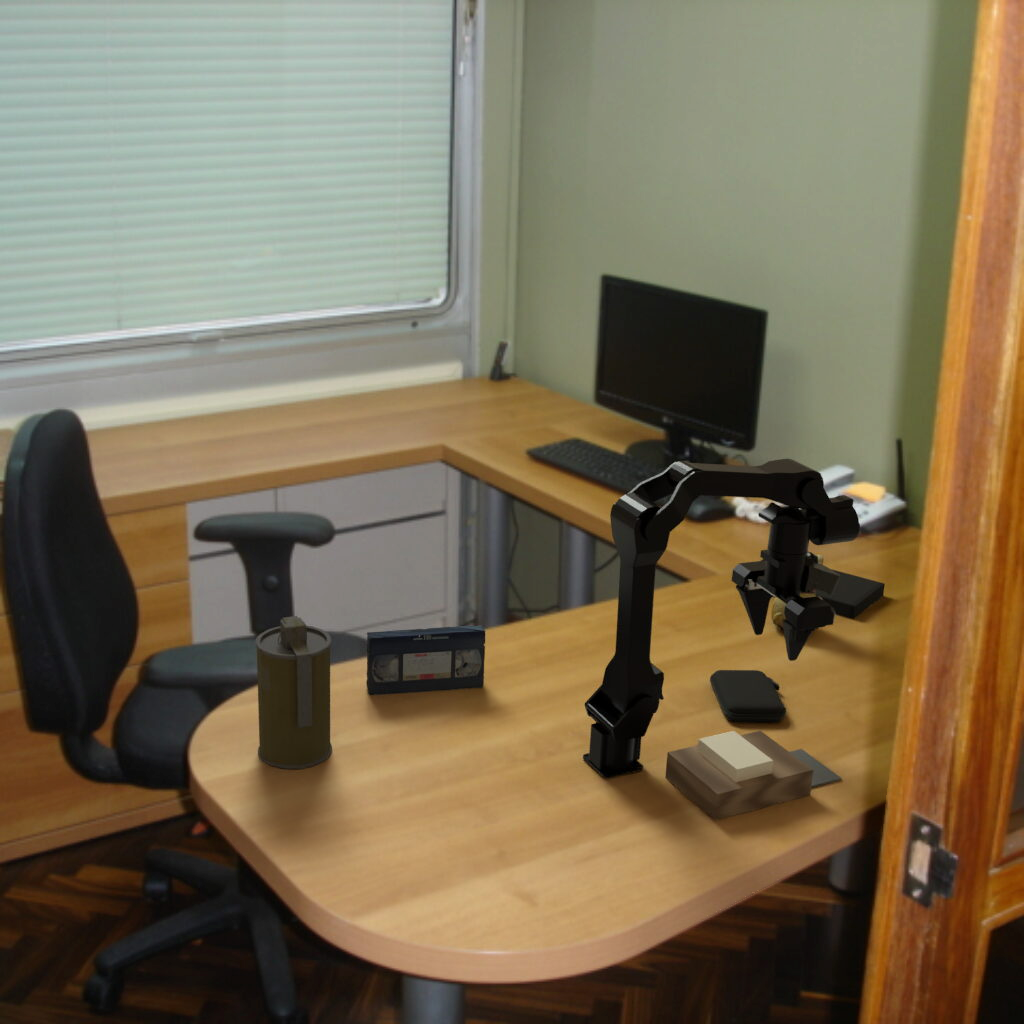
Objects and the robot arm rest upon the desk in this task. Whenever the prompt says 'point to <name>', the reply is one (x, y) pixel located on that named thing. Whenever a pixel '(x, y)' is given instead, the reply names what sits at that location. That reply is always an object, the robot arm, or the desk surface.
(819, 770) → the mat
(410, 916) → the desk surface
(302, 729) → the canister
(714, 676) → the carrying case or bag
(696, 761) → the riser
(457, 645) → the vhs cassette tape
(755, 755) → the cream rectangular box
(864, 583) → the external hard drive
